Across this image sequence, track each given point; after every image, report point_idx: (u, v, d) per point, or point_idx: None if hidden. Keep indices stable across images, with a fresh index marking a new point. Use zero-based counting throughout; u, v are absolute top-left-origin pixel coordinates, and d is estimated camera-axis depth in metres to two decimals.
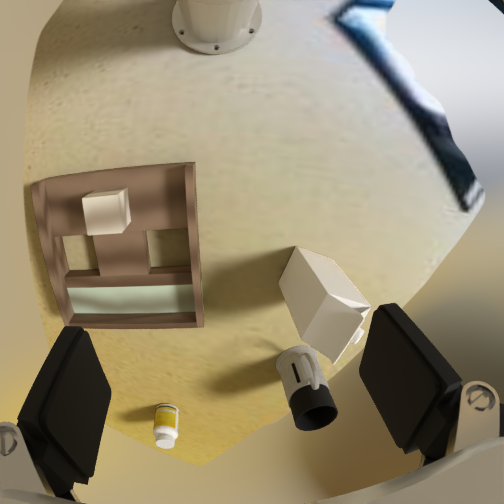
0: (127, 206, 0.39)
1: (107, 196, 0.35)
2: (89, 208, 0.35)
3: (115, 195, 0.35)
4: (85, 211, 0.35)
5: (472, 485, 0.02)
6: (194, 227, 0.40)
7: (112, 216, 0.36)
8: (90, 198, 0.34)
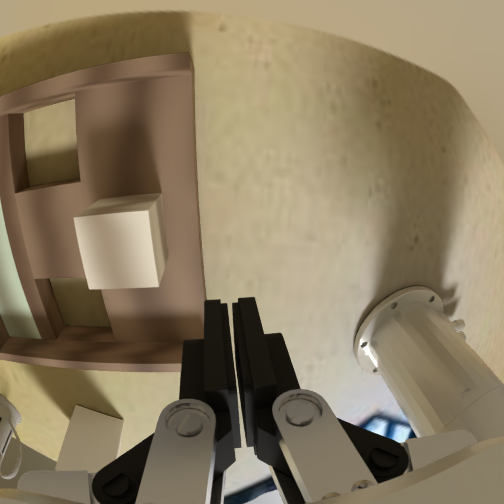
0: None
1: (154, 267, 0.18)
2: (126, 226, 0.17)
3: (157, 282, 0.19)
4: (120, 216, 0.17)
5: (472, 485, 0.02)
6: (121, 370, 0.24)
7: (116, 274, 0.18)
8: (148, 230, 0.17)
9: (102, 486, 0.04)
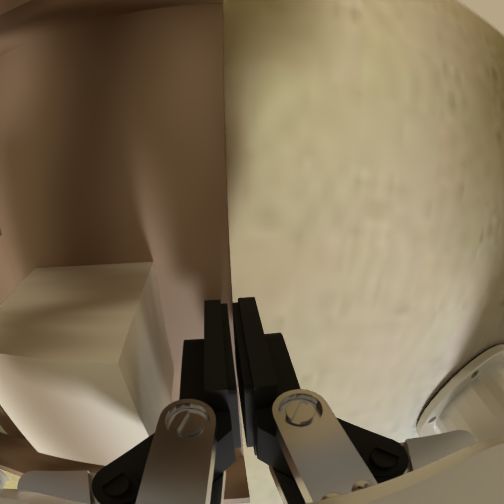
0: None
1: None
2: (73, 388, 0.06)
3: None
4: (53, 367, 0.05)
5: (473, 485, 0.02)
6: None
7: (77, 448, 0.07)
8: (127, 401, 0.06)
9: (103, 486, 0.04)
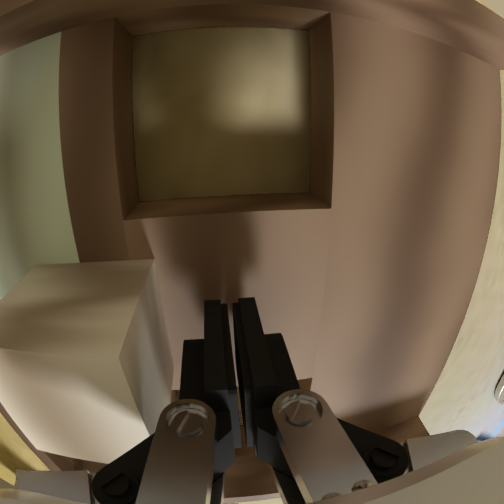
0: None
1: None
2: (72, 383, 0.06)
3: None
4: (53, 361, 0.05)
5: (472, 485, 0.02)
6: None
7: (76, 445, 0.07)
8: (127, 396, 0.06)
9: (102, 486, 0.04)
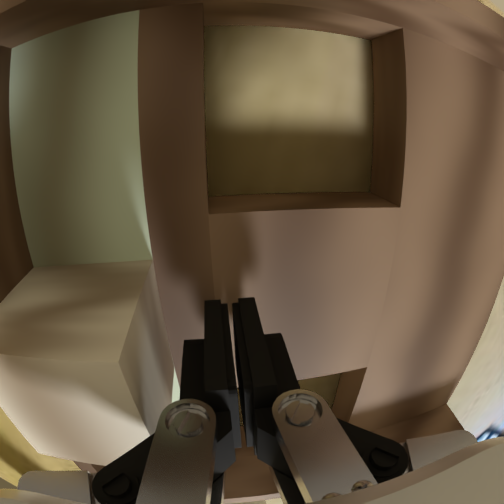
0: None
1: None
2: (72, 387, 0.06)
3: None
4: (53, 366, 0.05)
5: (473, 485, 0.02)
6: None
7: (78, 448, 0.07)
8: (128, 400, 0.06)
9: (103, 486, 0.04)
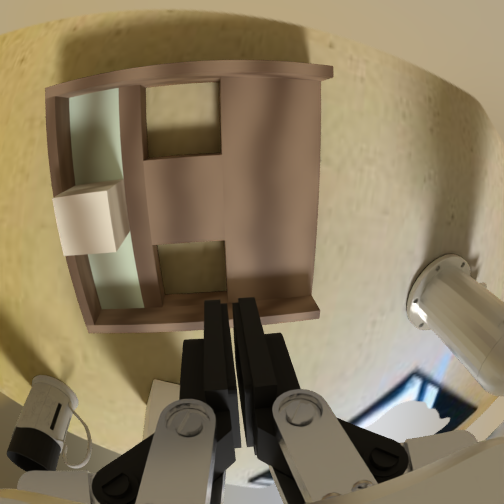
0: None
1: (112, 236, 0.22)
2: (91, 204, 0.21)
3: (115, 248, 0.23)
4: (87, 196, 0.21)
5: (472, 485, 0.02)
6: None
7: (84, 242, 0.22)
8: (107, 206, 0.21)
9: (102, 486, 0.04)
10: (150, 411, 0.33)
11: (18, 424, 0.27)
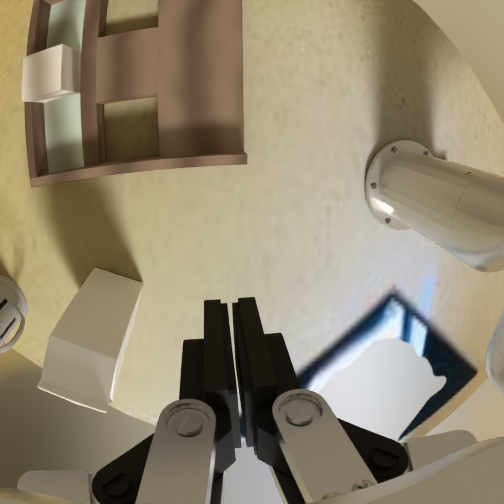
0: (57, 97, 0.25)
1: (60, 77, 0.21)
2: (49, 55, 0.20)
3: (60, 87, 0.22)
4: (47, 50, 0.20)
5: (473, 484, 0.02)
6: (165, 167, 0.28)
7: (38, 86, 0.21)
8: (60, 55, 0.20)
9: (102, 486, 0.04)
10: (80, 289, 0.31)
11: None
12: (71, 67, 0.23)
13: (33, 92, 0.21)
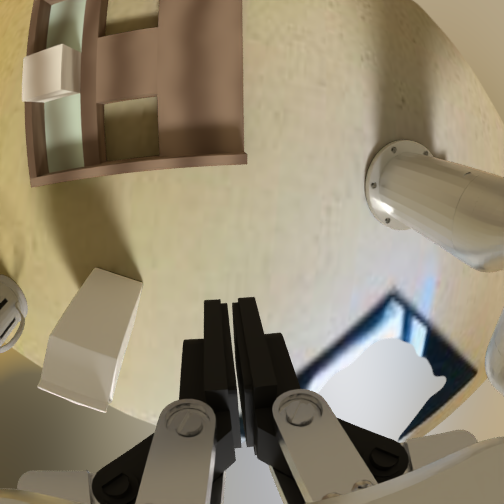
0: (57, 97, 0.25)
1: (60, 76, 0.21)
2: (49, 55, 0.20)
3: (60, 87, 0.22)
4: (48, 50, 0.20)
5: (472, 485, 0.02)
6: (165, 167, 0.28)
7: (38, 86, 0.21)
8: (60, 55, 0.20)
9: (103, 486, 0.04)
10: (80, 289, 0.31)
11: None
12: (71, 67, 0.23)
13: (33, 92, 0.21)
